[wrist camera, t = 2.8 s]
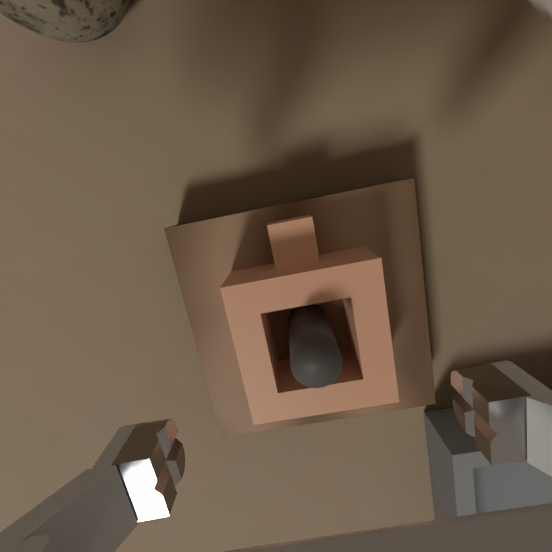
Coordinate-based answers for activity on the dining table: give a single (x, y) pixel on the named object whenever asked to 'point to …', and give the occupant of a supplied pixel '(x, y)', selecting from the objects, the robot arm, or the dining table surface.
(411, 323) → the base
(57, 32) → the decorative egg
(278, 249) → the ring
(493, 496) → the tray
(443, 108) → the dining table surface
